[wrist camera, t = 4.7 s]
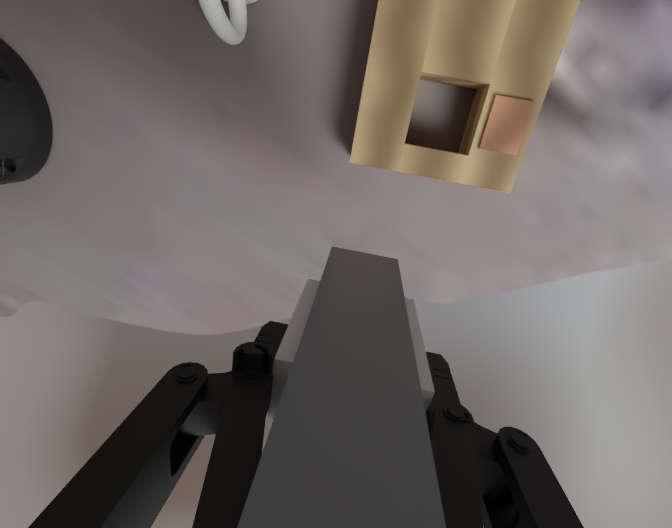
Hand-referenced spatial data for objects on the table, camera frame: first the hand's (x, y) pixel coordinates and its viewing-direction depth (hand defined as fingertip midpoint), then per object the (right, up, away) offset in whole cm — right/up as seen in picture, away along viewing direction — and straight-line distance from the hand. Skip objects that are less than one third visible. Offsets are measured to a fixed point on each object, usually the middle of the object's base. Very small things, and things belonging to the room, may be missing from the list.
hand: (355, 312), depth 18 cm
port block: (+9, +21, +11) cm, 26 cm away
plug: (0, +1, +3) cm, 4 cm away
